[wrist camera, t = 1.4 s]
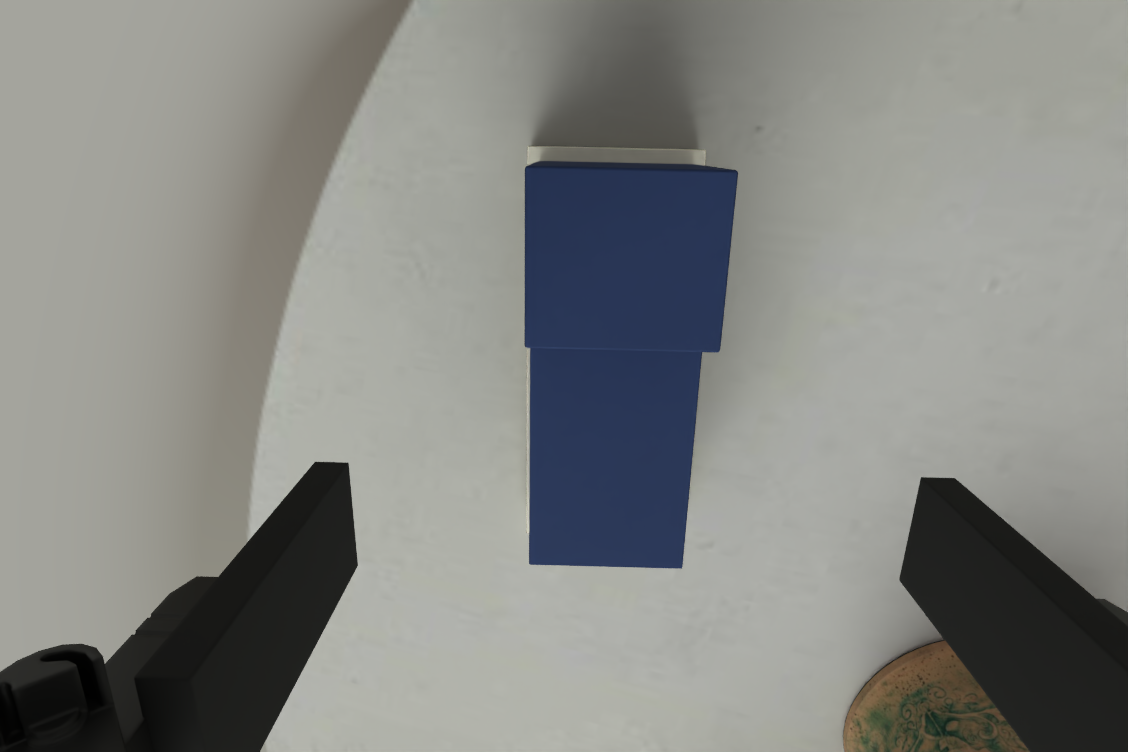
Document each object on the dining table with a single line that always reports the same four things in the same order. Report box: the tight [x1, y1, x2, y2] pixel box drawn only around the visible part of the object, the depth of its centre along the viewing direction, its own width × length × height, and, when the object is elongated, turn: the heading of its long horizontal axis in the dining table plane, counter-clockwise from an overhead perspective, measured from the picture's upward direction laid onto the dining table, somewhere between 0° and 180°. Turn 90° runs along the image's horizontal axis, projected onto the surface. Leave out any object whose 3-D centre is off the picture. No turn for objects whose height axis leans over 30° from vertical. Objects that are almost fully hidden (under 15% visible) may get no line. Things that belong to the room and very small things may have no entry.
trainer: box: [525, 146, 738, 568], centre depth 24 cm, size 16×6×8 cm, turn 179°
